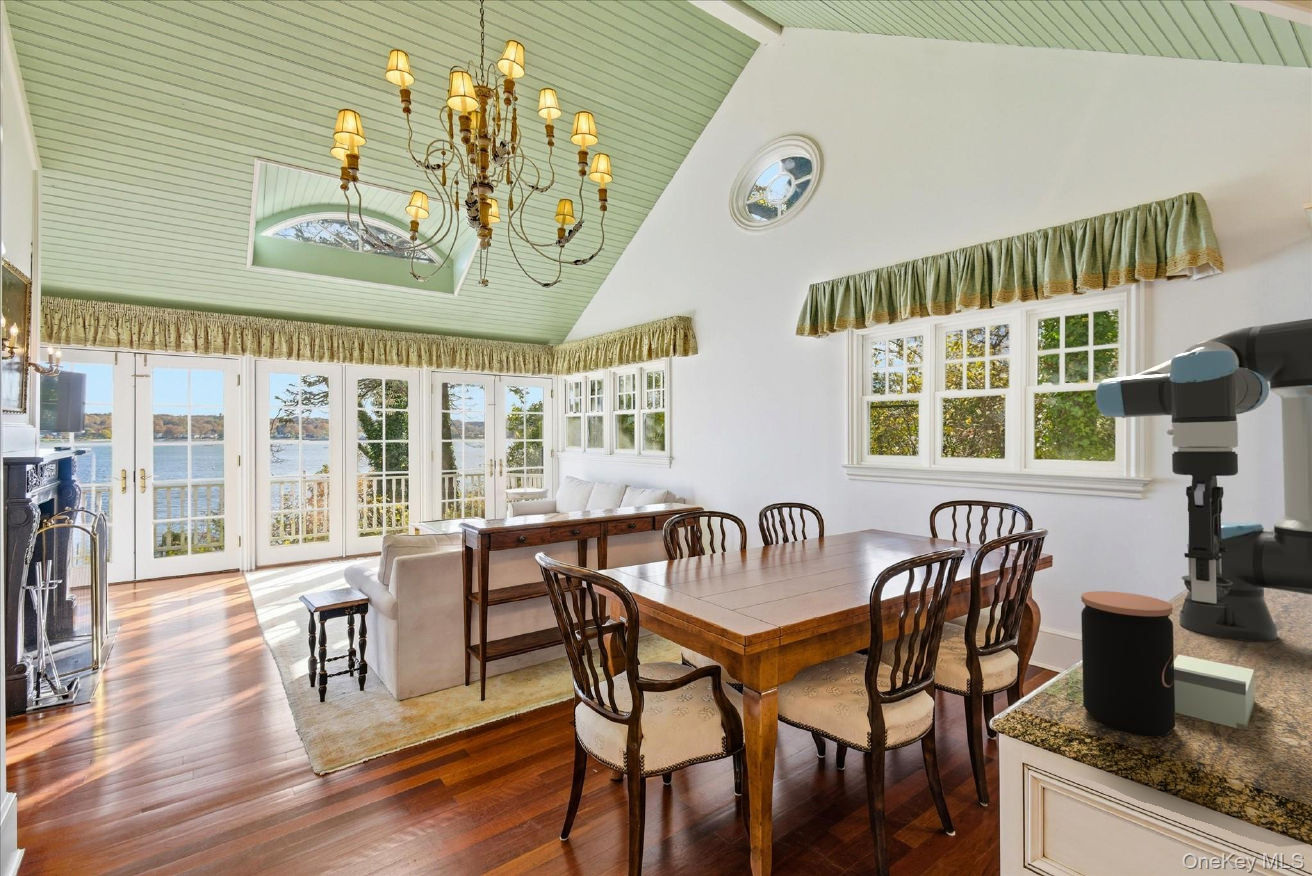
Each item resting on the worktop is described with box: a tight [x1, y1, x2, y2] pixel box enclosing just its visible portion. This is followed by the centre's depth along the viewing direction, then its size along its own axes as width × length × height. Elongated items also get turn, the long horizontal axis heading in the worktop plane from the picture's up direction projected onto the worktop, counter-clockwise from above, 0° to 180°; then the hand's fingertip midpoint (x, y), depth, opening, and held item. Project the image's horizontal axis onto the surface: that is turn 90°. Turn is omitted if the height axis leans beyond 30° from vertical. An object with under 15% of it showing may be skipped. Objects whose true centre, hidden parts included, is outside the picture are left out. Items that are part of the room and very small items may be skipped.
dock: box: [1174, 654, 1256, 732], centre depth 91 cm, size 14×9×7 cm, turn 131°
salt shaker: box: [1181, 534, 1233, 608], centre depth 92 cm, size 6×6×12 cm
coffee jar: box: [1080, 590, 1176, 738], centre depth 87 cm, size 11×11×18 cm
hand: (1207, 597), depth 91 cm, fingers closed on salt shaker, 6 cm apart
